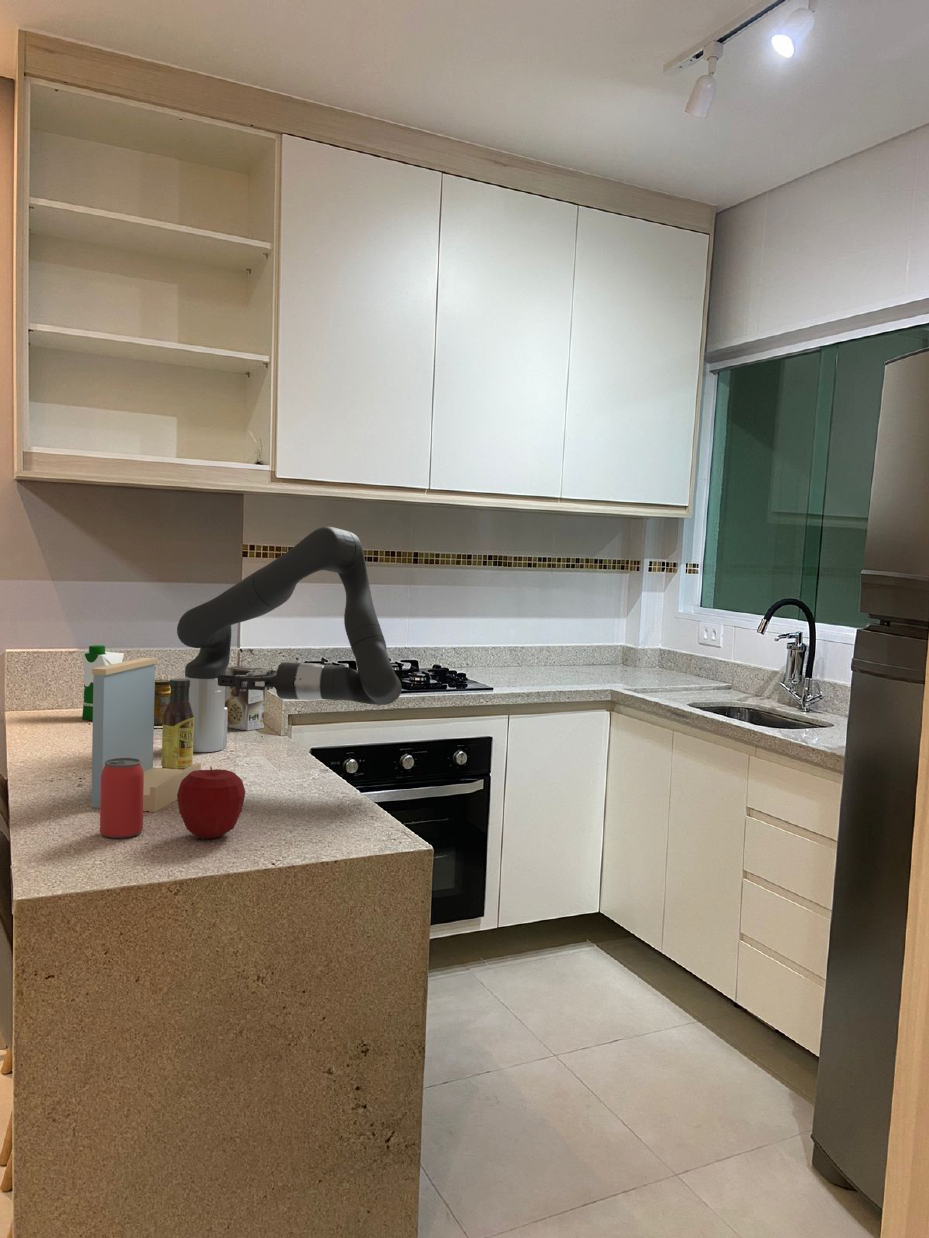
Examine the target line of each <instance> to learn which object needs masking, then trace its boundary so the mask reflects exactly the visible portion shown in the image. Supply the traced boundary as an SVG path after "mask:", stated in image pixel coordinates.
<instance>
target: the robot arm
mask: <svg viewBox="0 0 929 1238" xmlns="http://www.w3.org/2000/svg"><path fill="white" fill-rule="evenodd" d="M319 571H327V572H330V573H331V572H332V573H336V574H338V576H339V578H340V580H341V582H342V584H343V587H344V590H345V591H344V592H345V608H344V614H343V616H344V617H343V621H344V623H343V624H344V629H345V632H346V636H347V640H348V641H349V642H348V644H349V645H350V648H351V651H352V653H353V656H354V658H355V663H356V668H357V670H356V669H353V668H351V667H349V666H346V665H345V666H344V665H335V664H334V665H333V664H332V665H329V664H319V663H313V662H291V661H289V662H288V661H285V662H284V661H283V662H281V663H280V664H279V665H278V666H277V669H276V670H274V669H271V668H270V669H266V668H265V669H258V670H252V671H239V670H236V671H234V673H233V675H226V669H227V668H228V667H229V664H230V660H231V659H230V657H231V644H232V643H231V642H232V625H236V624H239V623H243V622H247V621H250V620H253V619H257V618H259V617H262V616H264V615H267V614H268V613H270V612H272V611H275V609H277V608H279V607H280V606H282V605H283V604H285V603H286V602H288V600H290V598H291V596H292V595H293V593H294V591H295V589H296V586H297V584H298V583H299V582H300V581H302V580H303V579H305V578H306V577H308V576H310V575H313V574H315V573H316V572H319ZM369 580H370V579H369V576H368V570H367V564H366V558H365V552H364V548H363V545H362V542H361V540H360V538H359V537H358V536H357V535H356V534H355V533H353V532H351V531H348V530H346V529H342V528H337V527H333V526H321V527H318V528H317V529H315V530H313V531H312V532H309V534H308V535H306V536H305V537H304V538H303V539H301V540H300V541H299V542H298V543H297V544H296V545H294V546H293V547H292V548H291V549H289V550H288V551H287V552H285V553H284V554H282V555H281V556H279V557H277V558H275V559H274V560H273V561H271V562H269V563H267V564H266V565H264V566H263V567H261V568H259V569H257V570H256V571H254V572H253V573H251V574H249V575H247V576H246V577H245V578H243V579H241V580H240V581H239V582H237V583H236V584H233V585H232V586H231V587H229V588H228V589H226V590H225V591H223V592H222V593H221V594H219V595H217V596H216V597H214V598H212V599H210V600H209V601H205V602H203V603H201V604H200V605H197V606H195V607H192V608H191V609H189V610H187V611H185V613H184V614H183V615H181V617H180V618H179V620H178V623H177V627H176V634H177V637H178V639H179V641H180V642H181V643H182V644H183V645H185V646H186V647H189V648H191V649H192V648H193V649H199V652H198V654H197V656H196V657H194V658H193V659H192V660H191V661H189V662H187V663H186V665H185V666H184V679H189V680H190V687H189V702H190V705H191V709H192V712H193V715H194V737H193V753H211V752H219V751H221V750H224V748H225V749H226V748H228V727H227V721H228V709H227V708H226V707H225V686H229V687H235V689H237V690H240V689H246V690H261V691H265V692H266V691H270V690H272V689H275V691H276V692H275V693H276V695H277V697H278V699H281V700H298V701H299V700H300V701H317V700H318V701H320V700H325V701H327V700H328V701H350V702H355V703H361V704H369V705H375V706H385V705H389V704H392V703H394V702H396V701H398V699H399V697H400V695H401V694H402V682H401V680H400V678H399V676H397V674H396V672H395V670H394V668H393V665H392V663H391V660H390V657H389V655H388V652H387V649H388V648H387V644H386V640H385V637H384V635H383V631H382V628H381V625H380V622H379V619H378V617H377V612H376V610H375V607H374V606H375V605H374V603H373V597H372V592H371V588H370V587H371V586H370V582H369ZM242 681H243V682H247V683H246V685H242Z"/></svg>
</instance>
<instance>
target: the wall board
mask: <svg viewBox="0 0 929 1238" xmlns="http://www.w3.org/2000/svg"><path fill="white" fill-rule="evenodd" d="M157 661H158V658H157V657H141V658H135V659H131V660H127V661H122V662H121V663H116V664H111V665H107V666H102V667H97V668H93V669H92V674H94V679H93V721H92V733H91V734H92V739H91V740H92V743H91V744H92V745H91V750H92V751H91V791H90V792H91V800H90V804H91V805H90V808H95V809H100V795H101V774H102V770H103V768H104V766H105V764H104V763H105V761H107V760H110V759H115V758H135V759H139V760H140V761H141V763H140V764H141V766H142V768H143V772H144V794H143V811H149V812H148V813H157V812H158V811H160V810H162V809H164V808H165V807H167V806H168V805H171V804H172V803H173V801H174V802H175V801H178V799H177V793H178V790H179V787H180V784H181V781H182V780H183V779H184V778H185V777H186V776H187V775H188V774H189V773H191V772H192V771H196V770H202V763H198V762H195V763H193V764H192V766H190V767H188V768H186V769H184V770H181V769H167V768H162V767H154V736H155V735H154V734H155V733H154V732H155V730H154V695H155V680H156V664H157V663H158V662H157Z"/></svg>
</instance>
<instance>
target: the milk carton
mask: <svg viewBox="0 0 929 1238" xmlns="http://www.w3.org/2000/svg"><path fill="white" fill-rule="evenodd" d="M124 656H125V653H121V652H113V651H106V645H98V644H97V645H95V644H94V645H89V646H88V652H81V659H82V663H83V664H82V665H83V704H82V706H83V707H82V716H81V720H84V721H90V722H91V721H92V722H93V679H94V674H92V669H93V668H97V667H102V666H107V665H111V664H116V663H121V662H123V660H124Z"/></svg>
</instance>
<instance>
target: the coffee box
mask: <svg viewBox="0 0 929 1238" xmlns="http://www.w3.org/2000/svg"><path fill="white" fill-rule="evenodd" d="M258 669H266V668H262V667H254V666H247V665H237V666H230V667H229V666H228V667H227V669H226V675H233V673H234V671H236V670H239V671H252V670H258ZM246 683H247V682H243V681H242V685H246ZM265 693H266V691H261V690H246V689H240V690H237V689H235V687H229V686H225V707H226V708H227V709H228V721H227V728H230V729H236V730H242V731H254V730H259V729H264V728H265V696H266V695H265Z"/></svg>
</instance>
